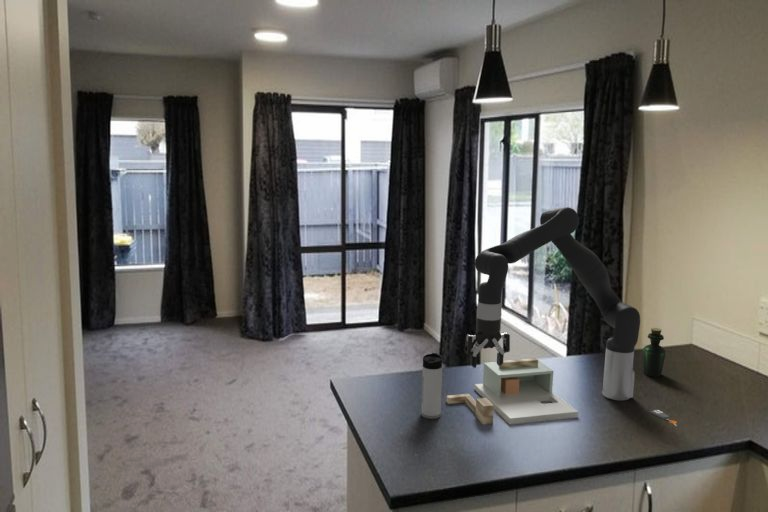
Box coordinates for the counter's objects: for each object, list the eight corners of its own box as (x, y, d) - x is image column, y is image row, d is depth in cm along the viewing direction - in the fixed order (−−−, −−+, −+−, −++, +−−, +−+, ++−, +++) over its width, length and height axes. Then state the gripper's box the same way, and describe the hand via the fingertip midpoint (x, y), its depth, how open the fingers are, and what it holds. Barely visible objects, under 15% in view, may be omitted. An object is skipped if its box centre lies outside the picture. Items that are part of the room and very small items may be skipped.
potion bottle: (642, 376, 235) (646, 331, 231) (639, 369, 242) (643, 325, 239) (665, 378, 232) (669, 333, 229) (662, 371, 240) (666, 327, 237)
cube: (512, 387, 217) (513, 374, 216) (518, 392, 212) (519, 379, 211) (499, 388, 215) (500, 375, 215) (505, 394, 211) (506, 380, 210)
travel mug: (442, 412, 200) (444, 353, 197) (438, 420, 194) (439, 360, 190) (424, 409, 202) (426, 351, 199) (419, 417, 196) (420, 358, 192)
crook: (470, 399, 211) (470, 382, 210) (493, 423, 193) (493, 405, 192) (446, 401, 209) (447, 385, 208) (467, 425, 190) (467, 407, 189)
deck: (535, 384, 225) (536, 358, 224) (578, 417, 198) (580, 388, 196) (474, 389, 219) (475, 362, 218) (509, 424, 192) (511, 394, 190)
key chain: (648, 414, 202) (649, 410, 202) (657, 412, 203) (657, 408, 203) (680, 431, 190) (680, 426, 190) (689, 429, 191) (689, 424, 191)
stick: (535, 364, 217) (535, 358, 217) (537, 365, 216) (538, 360, 215) (498, 366, 214) (499, 360, 214) (501, 368, 212) (501, 362, 212)
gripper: (504, 311, 194) (502, 360, 197) (462, 314, 191) (460, 363, 194) (515, 318, 187) (512, 368, 190) (471, 320, 184) (469, 371, 187)
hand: (486, 365), depth 192 cm, fingers open, 8 cm apart
